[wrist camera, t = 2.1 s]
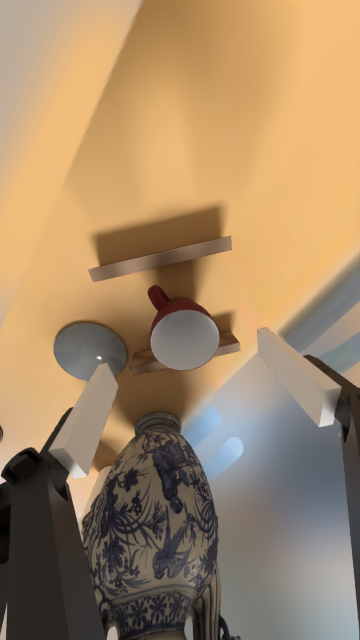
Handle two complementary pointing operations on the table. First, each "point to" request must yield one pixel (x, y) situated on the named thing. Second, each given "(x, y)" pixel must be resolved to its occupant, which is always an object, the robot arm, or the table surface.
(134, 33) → the table surface
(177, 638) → the decorative vase
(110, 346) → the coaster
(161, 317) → the mug
